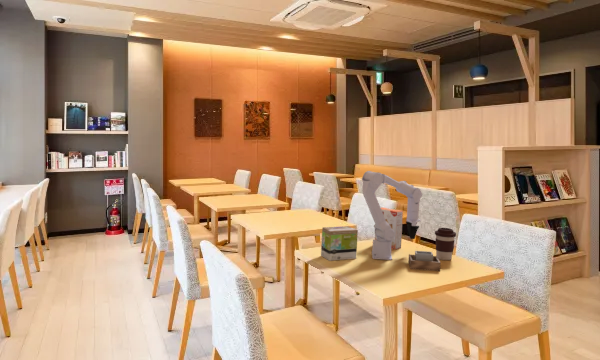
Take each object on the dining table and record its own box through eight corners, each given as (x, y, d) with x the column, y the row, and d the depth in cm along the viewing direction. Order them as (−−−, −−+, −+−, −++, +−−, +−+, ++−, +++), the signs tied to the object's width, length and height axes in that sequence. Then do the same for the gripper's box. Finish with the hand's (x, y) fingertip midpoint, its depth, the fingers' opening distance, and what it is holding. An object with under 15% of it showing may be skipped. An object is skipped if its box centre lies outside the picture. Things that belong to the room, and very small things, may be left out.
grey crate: (415, 266, 191) (416, 253, 191) (414, 263, 196) (415, 250, 196) (432, 267, 190) (433, 254, 189) (430, 264, 195) (431, 251, 194)
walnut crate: (410, 269, 189) (411, 260, 189) (408, 262, 199) (408, 254, 199) (439, 271, 187) (440, 262, 187) (436, 264, 197) (436, 256, 197)
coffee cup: (455, 262, 202) (457, 231, 201) (434, 260, 204) (436, 230, 203) (452, 256, 212) (454, 227, 210) (432, 255, 214) (434, 226, 212)
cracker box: (373, 244, 232) (375, 207, 230) (380, 243, 236) (381, 206, 234) (395, 250, 222) (396, 211, 220) (401, 248, 226) (403, 210, 224)
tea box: (329, 261, 198) (330, 231, 196) (320, 256, 207) (321, 227, 206) (357, 258, 204) (358, 229, 202) (346, 253, 213) (347, 225, 212)
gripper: (423, 213, 202) (421, 240, 204) (419, 208, 217) (418, 234, 218) (408, 212, 204) (406, 240, 205) (405, 208, 218) (404, 233, 219)
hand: (411, 237), depth 212 cm, fingers open, 7 cm apart
